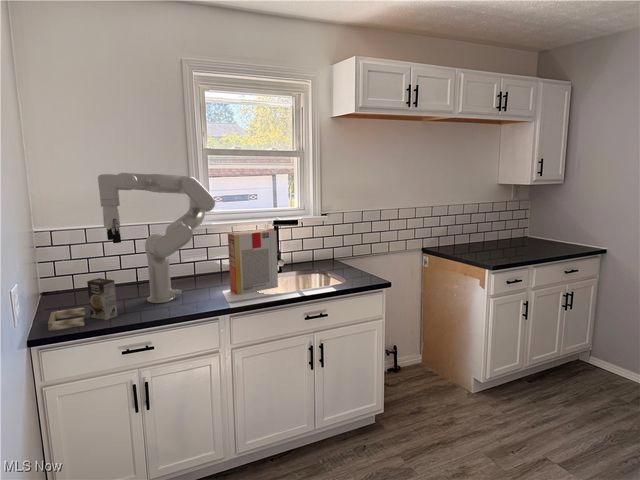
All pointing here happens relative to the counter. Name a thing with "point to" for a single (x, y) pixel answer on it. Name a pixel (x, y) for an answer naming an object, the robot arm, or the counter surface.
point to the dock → (66, 323)
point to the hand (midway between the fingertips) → (114, 241)
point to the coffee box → (102, 298)
